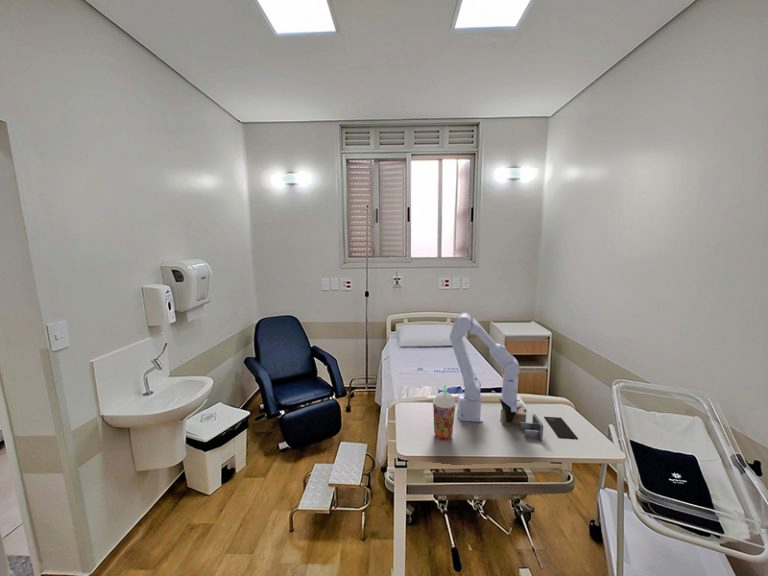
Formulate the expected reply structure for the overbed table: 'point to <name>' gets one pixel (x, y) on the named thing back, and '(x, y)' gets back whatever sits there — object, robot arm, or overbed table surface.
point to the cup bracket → (532, 428)
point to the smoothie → (443, 414)
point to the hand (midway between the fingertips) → (507, 419)
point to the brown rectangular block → (518, 418)
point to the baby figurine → (520, 403)
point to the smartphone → (560, 428)
